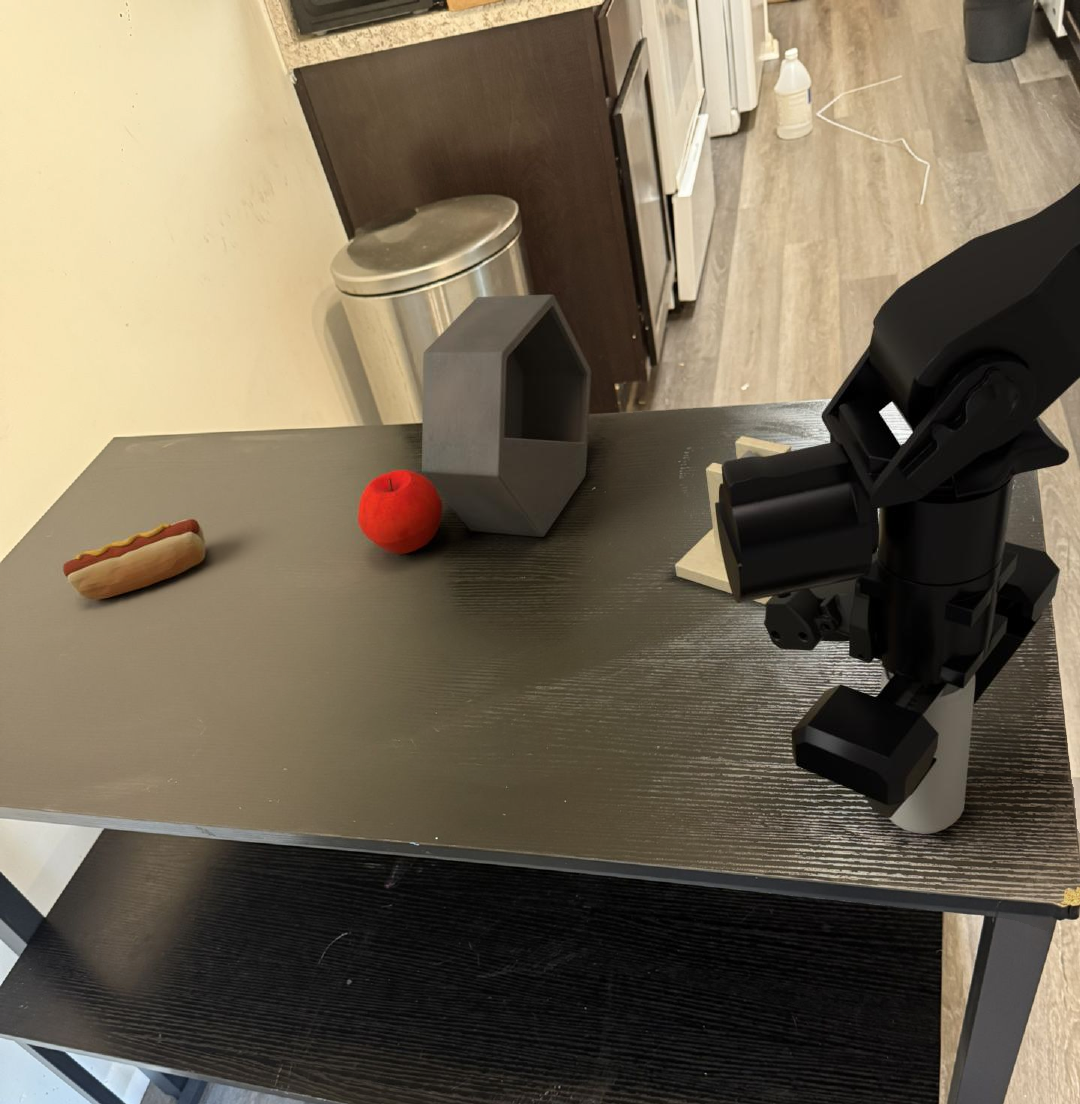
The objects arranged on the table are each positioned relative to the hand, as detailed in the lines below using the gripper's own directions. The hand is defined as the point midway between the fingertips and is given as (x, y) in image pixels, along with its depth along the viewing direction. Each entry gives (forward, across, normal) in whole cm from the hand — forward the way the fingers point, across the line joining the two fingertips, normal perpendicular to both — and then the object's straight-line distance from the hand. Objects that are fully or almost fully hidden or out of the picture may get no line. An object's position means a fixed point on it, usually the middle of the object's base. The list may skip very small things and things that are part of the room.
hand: (920, 761), depth 60 cm
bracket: (+4, -17, -22) cm, 28 cm away
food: (+6, +11, -77) cm, 78 cm away
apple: (+5, -6, -53) cm, 54 cm away
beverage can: (+4, 0, 0) cm, 4 cm away
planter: (+5, -16, -47) cm, 50 cm away
